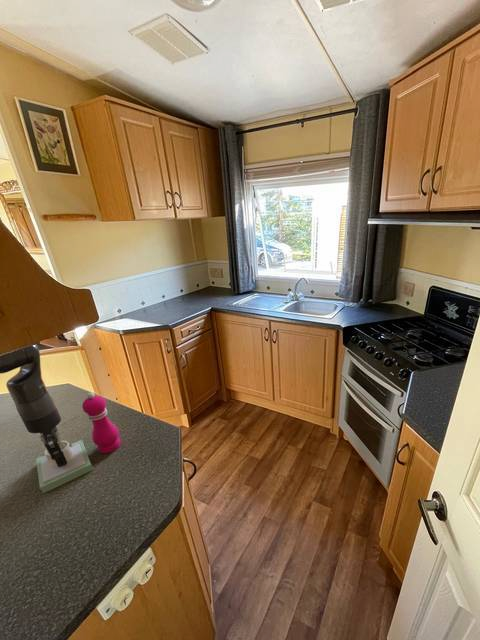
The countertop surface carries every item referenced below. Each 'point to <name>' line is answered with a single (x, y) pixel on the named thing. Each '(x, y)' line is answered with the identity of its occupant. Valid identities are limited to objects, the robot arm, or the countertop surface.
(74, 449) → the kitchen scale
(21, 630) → the countertop surface
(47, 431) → the robot arm
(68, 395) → the countertop surface
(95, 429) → the pepper mill
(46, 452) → the dip bowl
